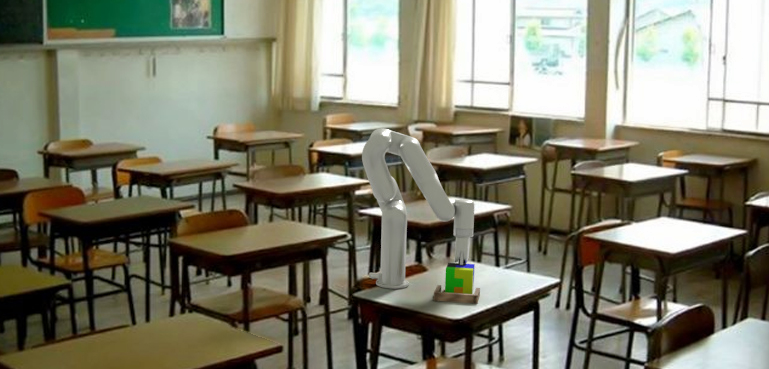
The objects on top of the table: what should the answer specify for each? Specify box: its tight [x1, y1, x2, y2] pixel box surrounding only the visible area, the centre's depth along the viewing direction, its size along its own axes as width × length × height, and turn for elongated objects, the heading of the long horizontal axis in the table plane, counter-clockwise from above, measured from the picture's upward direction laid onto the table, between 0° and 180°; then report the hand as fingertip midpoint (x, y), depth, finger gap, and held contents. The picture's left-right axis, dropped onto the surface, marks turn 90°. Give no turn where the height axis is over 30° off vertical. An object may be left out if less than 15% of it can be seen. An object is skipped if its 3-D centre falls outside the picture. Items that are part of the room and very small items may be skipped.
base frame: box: [433, 284, 481, 304], centre depth 393 cm, size 16×11×3 cm
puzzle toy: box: [444, 262, 476, 294], centre depth 401 cm, size 10×10×10 cm
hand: (461, 278), depth 409 cm, fingers closed
